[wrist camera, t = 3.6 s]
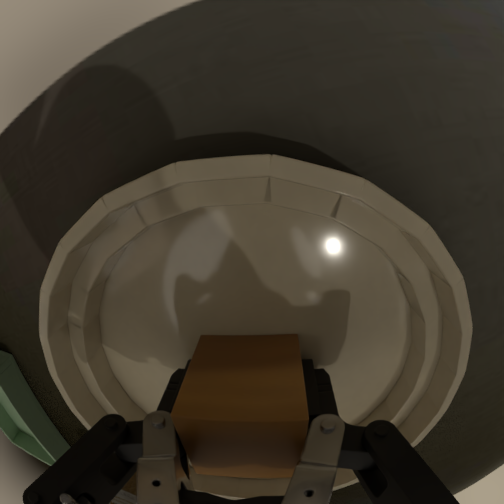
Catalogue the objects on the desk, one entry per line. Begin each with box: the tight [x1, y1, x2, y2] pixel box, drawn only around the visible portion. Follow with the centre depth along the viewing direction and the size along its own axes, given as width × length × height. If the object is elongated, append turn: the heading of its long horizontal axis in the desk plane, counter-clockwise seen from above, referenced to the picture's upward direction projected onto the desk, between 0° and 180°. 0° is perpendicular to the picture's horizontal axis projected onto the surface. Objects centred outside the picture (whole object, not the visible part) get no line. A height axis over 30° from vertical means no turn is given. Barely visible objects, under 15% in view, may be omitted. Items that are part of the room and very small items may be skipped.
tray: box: [0, 350, 71, 466], centre depth 17 cm, size 15×11×3 cm
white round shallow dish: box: [39, 154, 473, 500], centre depth 12 cm, size 19×19×4 cm
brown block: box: [170, 334, 309, 478], centre depth 10 cm, size 4×4×5 cm
